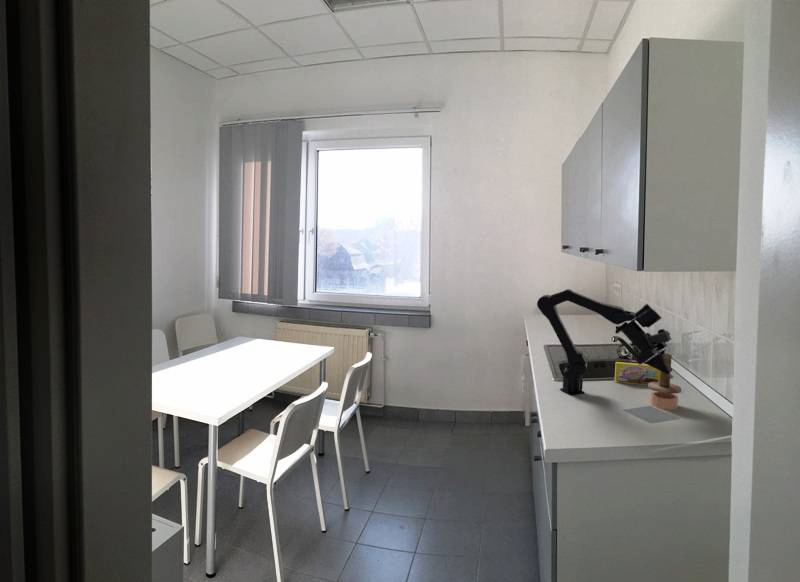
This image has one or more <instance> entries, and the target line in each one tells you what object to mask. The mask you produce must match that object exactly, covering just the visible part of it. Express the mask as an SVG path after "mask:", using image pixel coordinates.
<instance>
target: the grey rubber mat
mask: <svg viewBox="0 0 800 582" xmlns="http://www.w3.org/2000/svg"><path fill="white" fill-rule="evenodd" d="M622 411H623V412H625V413H627V414H630V415H632V416H634V417H637V418H639V419H641V420H643V421H645V422H648V423H649V424H654V423H655V424H656V423H662V422H668V421H674V420H675V421H676V420H680V419H681V418H680V417H678V416H675V415H673V414H671V413H669V412H666V411H664V410H663V409H662V410H661V409H660V408H657V407H655V406H652V405H647V406H645V405H644V406H640V407H631V408H625V409H622Z"/></svg>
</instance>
